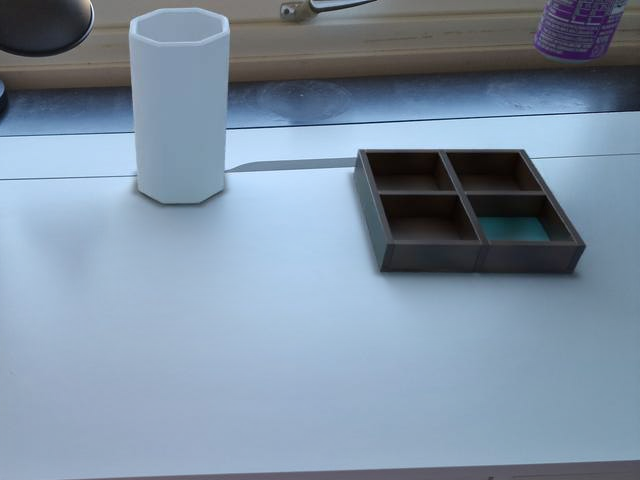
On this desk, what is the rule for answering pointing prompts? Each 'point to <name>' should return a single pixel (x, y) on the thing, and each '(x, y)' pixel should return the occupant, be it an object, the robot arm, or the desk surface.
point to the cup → (180, 102)
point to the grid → (463, 212)
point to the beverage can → (578, 29)
